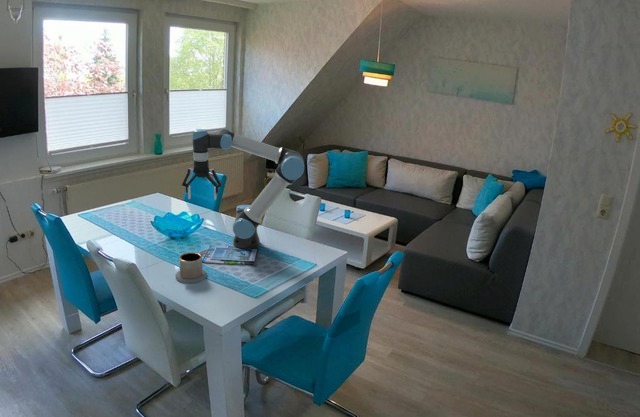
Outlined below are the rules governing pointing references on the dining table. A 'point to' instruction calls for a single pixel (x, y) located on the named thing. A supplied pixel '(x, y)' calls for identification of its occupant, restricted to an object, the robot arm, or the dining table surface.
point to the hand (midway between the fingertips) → (202, 198)
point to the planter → (190, 265)
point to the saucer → (190, 281)
